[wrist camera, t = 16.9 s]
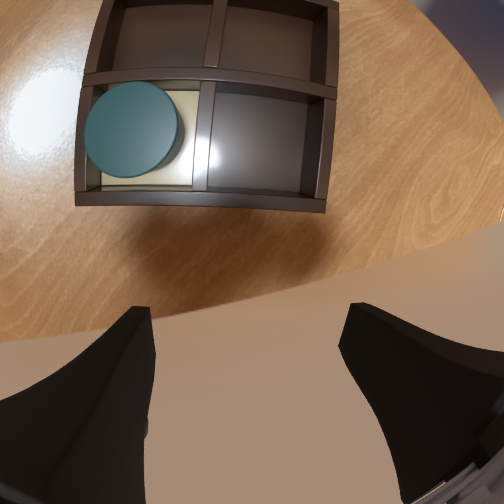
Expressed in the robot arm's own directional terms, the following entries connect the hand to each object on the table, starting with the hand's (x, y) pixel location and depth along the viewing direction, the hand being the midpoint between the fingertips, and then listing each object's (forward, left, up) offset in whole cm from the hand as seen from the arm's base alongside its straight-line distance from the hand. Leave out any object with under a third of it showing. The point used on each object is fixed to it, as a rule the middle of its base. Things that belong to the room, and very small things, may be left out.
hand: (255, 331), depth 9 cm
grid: (+10, +2, -9) cm, 14 cm away
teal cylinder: (+7, +5, -9) cm, 12 cm away
